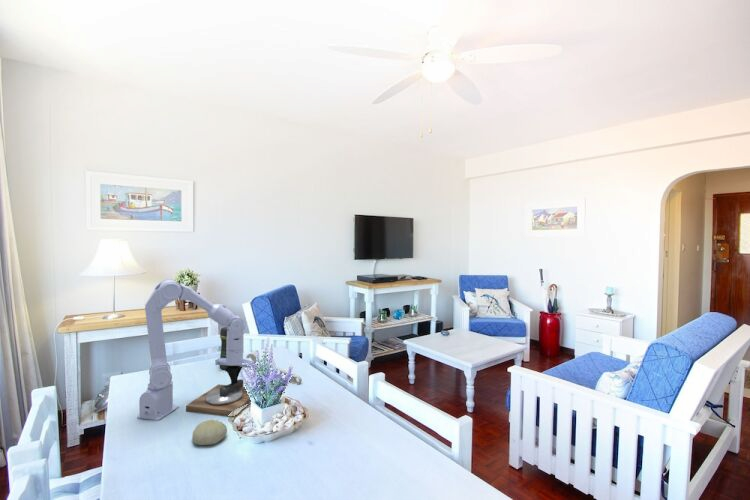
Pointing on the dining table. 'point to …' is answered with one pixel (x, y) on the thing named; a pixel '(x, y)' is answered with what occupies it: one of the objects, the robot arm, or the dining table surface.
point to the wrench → (293, 378)
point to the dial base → (222, 410)
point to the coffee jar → (223, 345)
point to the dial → (225, 394)
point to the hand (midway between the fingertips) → (234, 385)
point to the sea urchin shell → (209, 432)
